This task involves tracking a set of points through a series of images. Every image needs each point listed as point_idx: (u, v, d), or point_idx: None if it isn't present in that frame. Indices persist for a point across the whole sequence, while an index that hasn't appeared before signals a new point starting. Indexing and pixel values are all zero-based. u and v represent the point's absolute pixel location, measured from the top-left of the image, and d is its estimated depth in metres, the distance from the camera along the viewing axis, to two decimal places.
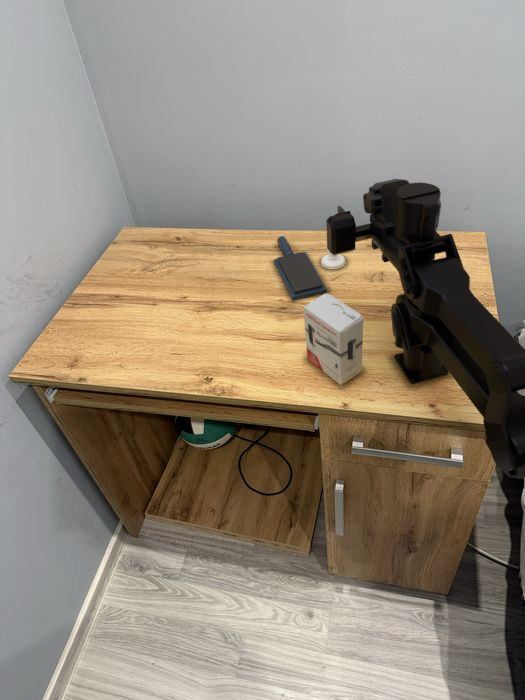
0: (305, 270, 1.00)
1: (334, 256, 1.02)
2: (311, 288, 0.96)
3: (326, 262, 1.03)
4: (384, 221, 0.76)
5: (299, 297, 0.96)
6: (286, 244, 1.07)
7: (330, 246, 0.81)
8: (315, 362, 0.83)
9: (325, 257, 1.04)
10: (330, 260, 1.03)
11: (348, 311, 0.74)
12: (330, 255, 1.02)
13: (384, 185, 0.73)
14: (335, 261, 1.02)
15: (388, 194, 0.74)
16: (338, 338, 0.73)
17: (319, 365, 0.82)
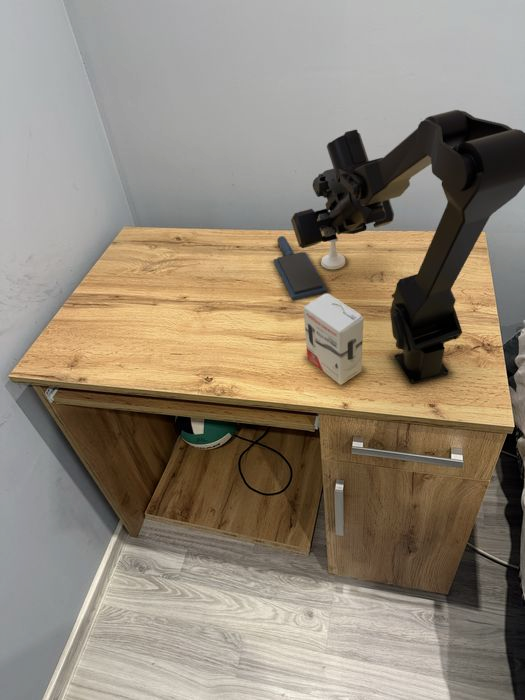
0: (305, 270, 1.00)
1: (334, 256, 1.02)
2: (311, 288, 0.96)
3: (326, 262, 1.03)
4: (334, 194, 0.87)
5: (299, 297, 0.96)
6: (286, 244, 1.07)
7: (299, 237, 0.90)
8: (315, 362, 0.83)
9: (325, 257, 1.04)
10: (330, 260, 1.03)
11: (348, 311, 0.74)
12: (330, 255, 1.02)
13: (325, 171, 0.89)
14: (335, 261, 1.02)
15: (331, 176, 0.89)
16: (338, 338, 0.73)
17: (319, 365, 0.82)
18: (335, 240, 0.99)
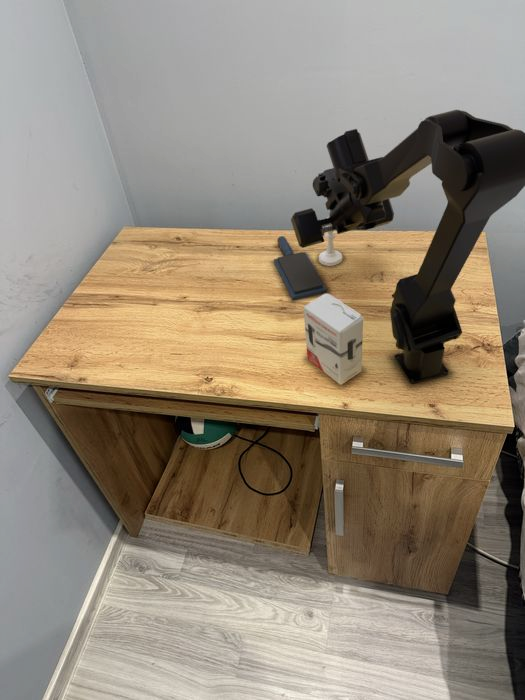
0: (305, 270, 1.00)
1: (331, 252, 1.03)
2: (311, 288, 0.96)
3: (324, 258, 1.04)
4: (334, 194, 0.87)
5: (299, 297, 0.96)
6: (286, 244, 1.07)
7: (299, 236, 0.90)
8: (315, 362, 0.83)
9: (322, 253, 1.05)
10: (327, 256, 1.04)
11: (348, 311, 0.74)
12: (327, 251, 1.03)
13: (325, 170, 0.89)
14: (332, 257, 1.03)
15: (331, 176, 0.89)
16: (338, 338, 0.73)
17: (319, 365, 0.82)
18: (332, 236, 1.01)
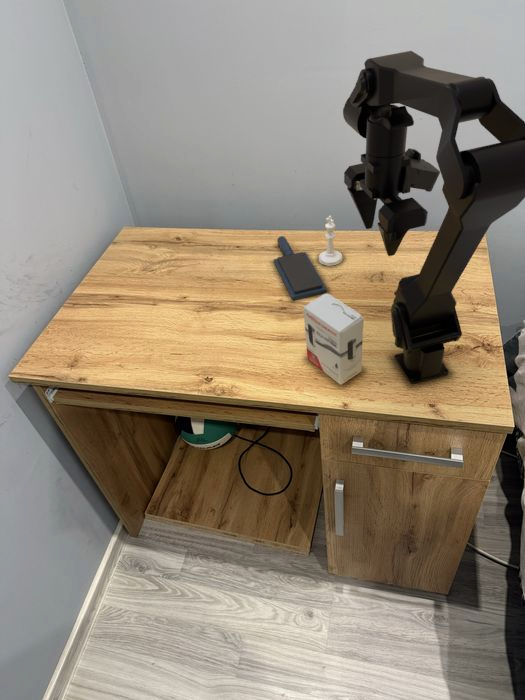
0: (305, 270, 1.00)
1: (331, 252, 1.03)
2: (311, 288, 0.96)
3: (324, 258, 1.04)
4: None
5: (299, 297, 0.96)
6: (286, 244, 1.07)
7: None
8: (315, 362, 0.83)
9: (322, 253, 1.05)
10: (327, 256, 1.04)
11: (348, 311, 0.74)
12: (327, 251, 1.03)
13: (429, 163, 0.79)
14: (332, 257, 1.03)
15: (423, 163, 0.78)
16: (338, 338, 0.73)
17: (319, 365, 0.82)
18: (332, 236, 1.01)
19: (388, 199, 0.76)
